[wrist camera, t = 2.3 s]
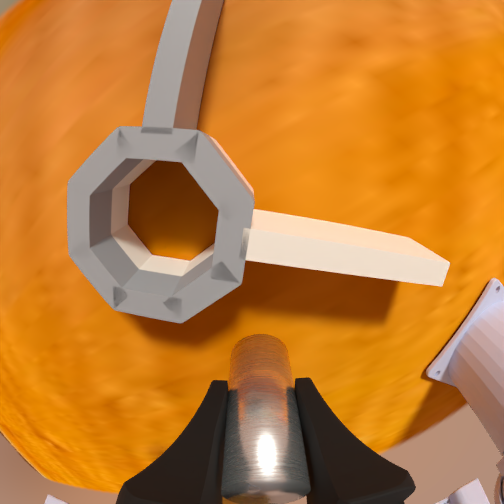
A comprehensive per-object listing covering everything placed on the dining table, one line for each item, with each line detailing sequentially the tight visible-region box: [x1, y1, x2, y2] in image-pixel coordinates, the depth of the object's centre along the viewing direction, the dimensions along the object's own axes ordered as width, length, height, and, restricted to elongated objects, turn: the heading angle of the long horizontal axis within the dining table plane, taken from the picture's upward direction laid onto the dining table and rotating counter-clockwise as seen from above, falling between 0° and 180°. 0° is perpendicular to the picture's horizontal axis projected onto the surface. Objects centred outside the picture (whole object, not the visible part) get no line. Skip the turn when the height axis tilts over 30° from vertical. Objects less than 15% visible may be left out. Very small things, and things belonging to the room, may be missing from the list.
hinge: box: [67, 0, 450, 323], centre depth 9 cm, size 14×14×4 cm
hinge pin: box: [221, 334, 311, 504], centre depth 10 cm, size 3×3×8 cm
